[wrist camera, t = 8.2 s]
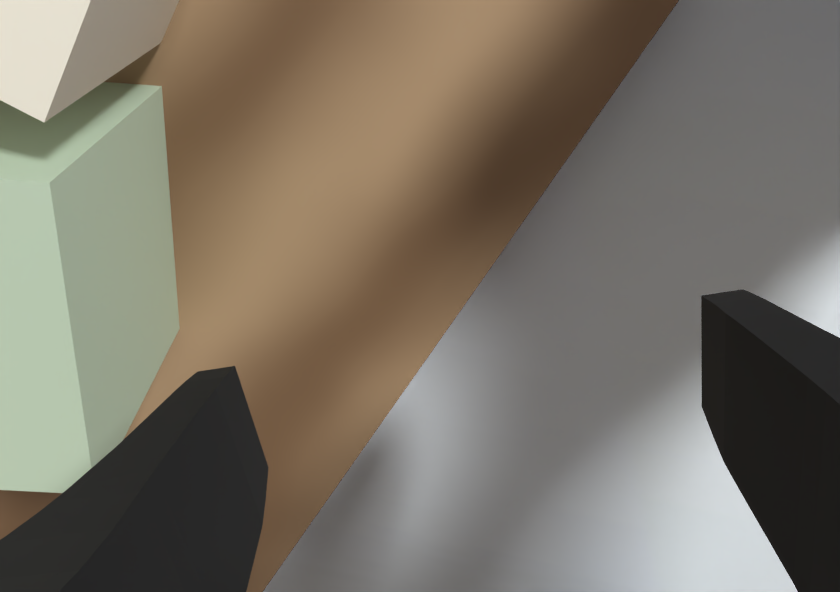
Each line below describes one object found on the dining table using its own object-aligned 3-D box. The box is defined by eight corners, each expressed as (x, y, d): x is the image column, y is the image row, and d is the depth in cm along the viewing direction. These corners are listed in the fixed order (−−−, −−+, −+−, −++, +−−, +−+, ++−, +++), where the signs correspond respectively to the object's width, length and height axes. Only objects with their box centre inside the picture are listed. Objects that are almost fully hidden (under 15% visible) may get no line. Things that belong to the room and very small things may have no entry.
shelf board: (675, -31, 19) (730, -10, 16) (243, 594, 28) (221, 688, 25) (-8, -511, 15) (-126, -619, 12) (-243, 405, 24) (-344, 488, 21)
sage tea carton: (161, 85, 18) (49, 182, 13) (179, 328, 22) (95, 494, 16) (-22, 72, 18) (-220, 164, 13) (22, 318, 21) (-121, 483, 16)
